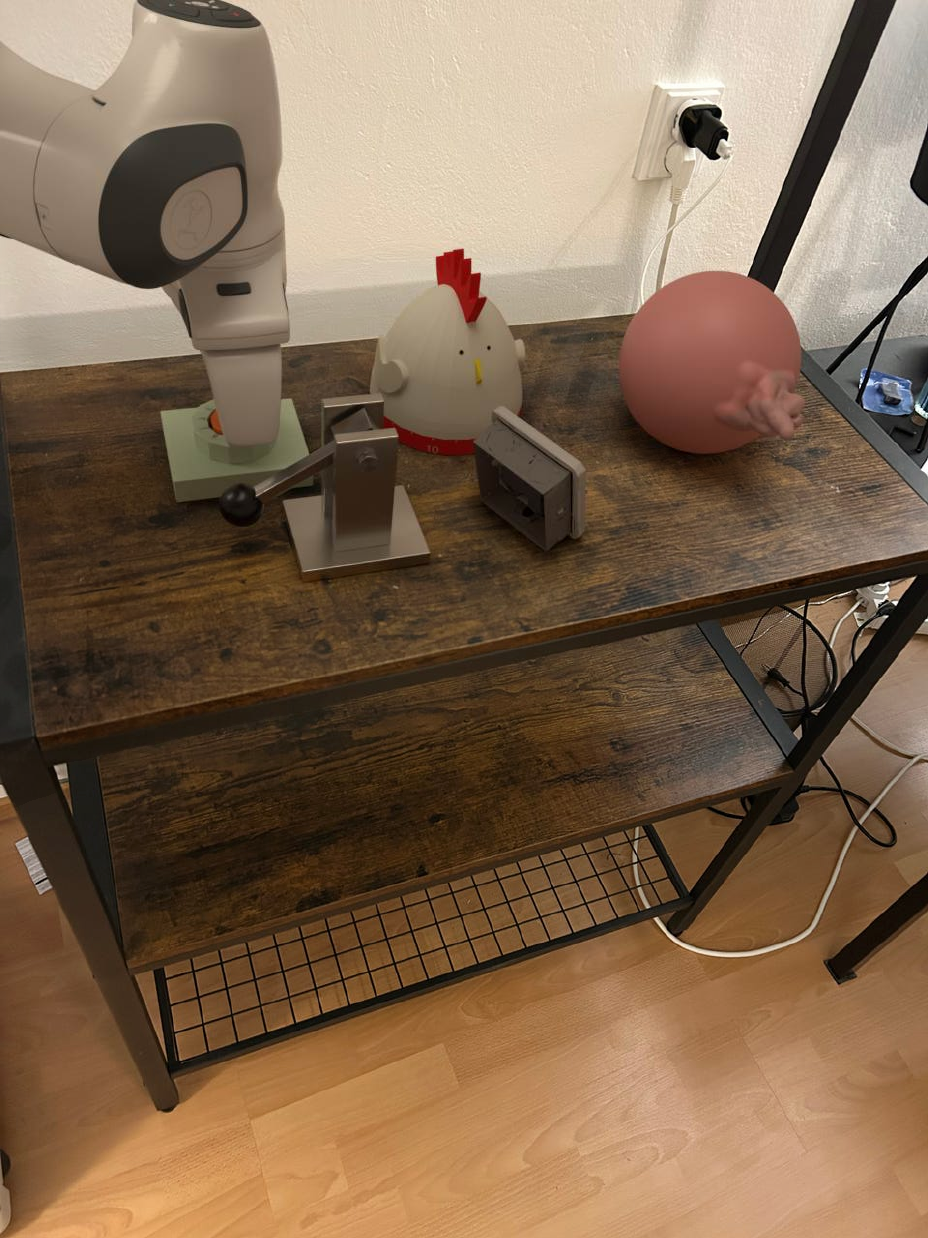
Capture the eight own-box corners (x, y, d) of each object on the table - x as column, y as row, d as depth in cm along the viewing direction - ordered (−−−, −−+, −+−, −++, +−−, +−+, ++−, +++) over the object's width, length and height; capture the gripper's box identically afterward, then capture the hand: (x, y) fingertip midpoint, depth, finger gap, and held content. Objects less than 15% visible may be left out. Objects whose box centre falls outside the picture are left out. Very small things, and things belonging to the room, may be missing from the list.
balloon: (663, 536, 81) (721, 383, 69) (577, 391, 93) (614, 240, 81) (820, 513, 85) (899, 365, 74) (718, 377, 97) (772, 232, 85)
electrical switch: (585, 538, 80) (601, 455, 72) (541, 570, 77) (554, 487, 70) (504, 477, 84) (513, 392, 76) (461, 506, 81) (465, 421, 74)
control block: (176, 502, 77) (170, 464, 74) (163, 431, 83) (157, 392, 80) (313, 485, 80) (312, 448, 77) (292, 418, 86) (290, 380, 83)
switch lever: (239, 542, 71) (213, 518, 69) (232, 513, 73) (207, 488, 71) (391, 455, 69) (370, 427, 67) (380, 427, 71) (359, 399, 69)
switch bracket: (302, 582, 73) (300, 462, 64) (282, 510, 78) (277, 389, 69) (429, 563, 76) (443, 445, 67) (402, 495, 81) (412, 376, 72)
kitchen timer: (402, 467, 83) (414, 312, 72) (347, 374, 91) (351, 220, 79) (544, 438, 88) (577, 288, 76) (481, 352, 95) (503, 204, 84)
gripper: (159, 188, 73) (180, 346, 84) (195, 344, 61) (214, 506, 71) (243, 185, 75) (253, 340, 85) (295, 336, 63) (299, 495, 73)
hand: (236, 417), depth 78 cm, fingers closed, pressing on cancel button
